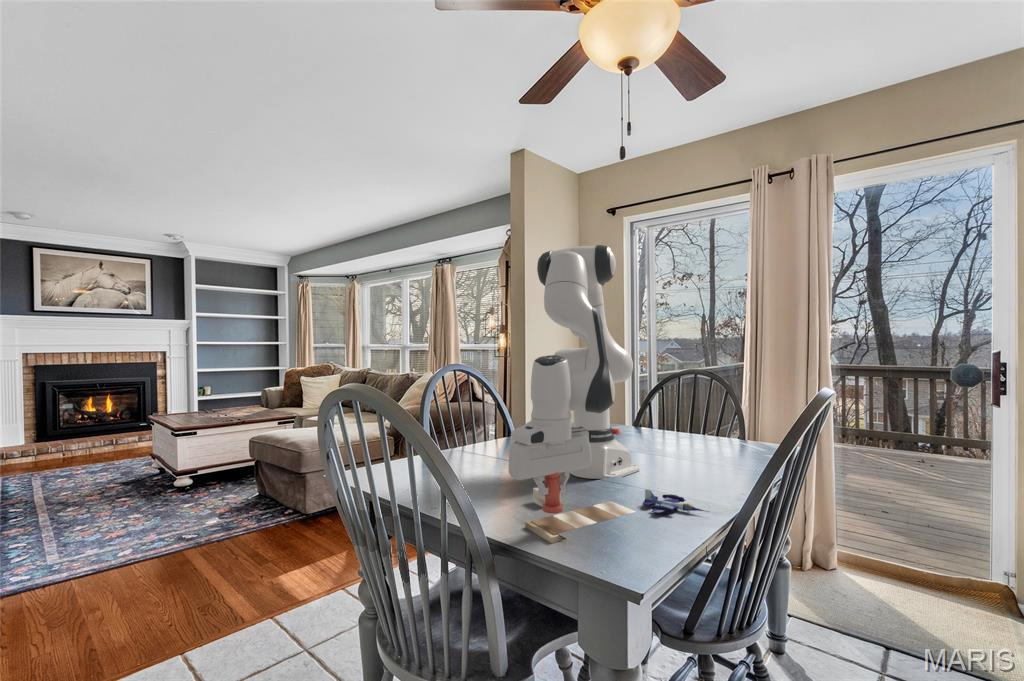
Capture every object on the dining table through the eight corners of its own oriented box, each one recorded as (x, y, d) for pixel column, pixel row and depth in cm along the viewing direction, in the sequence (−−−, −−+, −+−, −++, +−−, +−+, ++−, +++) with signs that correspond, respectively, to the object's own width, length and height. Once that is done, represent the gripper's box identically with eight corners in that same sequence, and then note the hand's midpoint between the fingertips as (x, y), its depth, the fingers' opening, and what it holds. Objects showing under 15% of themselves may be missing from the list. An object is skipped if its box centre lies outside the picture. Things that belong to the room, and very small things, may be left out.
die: (549, 504, 123) (549, 484, 123) (561, 510, 119) (561, 489, 119) (533, 508, 121) (532, 487, 121) (544, 514, 117) (544, 493, 116)
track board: (612, 505, 122) (612, 499, 122) (641, 517, 113) (641, 511, 113) (525, 527, 108) (525, 521, 108) (551, 543, 100) (551, 536, 100)
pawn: (554, 505, 109) (554, 461, 109) (566, 510, 105) (566, 465, 105) (538, 508, 107) (538, 463, 107) (550, 514, 103) (549, 468, 103)
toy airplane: (715, 524, 109) (715, 508, 109) (655, 528, 107) (655, 511, 107) (688, 504, 122) (687, 490, 122) (634, 507, 120) (634, 493, 120)
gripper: (579, 423, 114) (580, 482, 114) (504, 432, 103) (505, 497, 103) (597, 427, 109) (598, 489, 109) (520, 437, 98) (520, 506, 98)
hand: (552, 493), depth 106 cm, fingers closed on pawn, 3 cm apart
